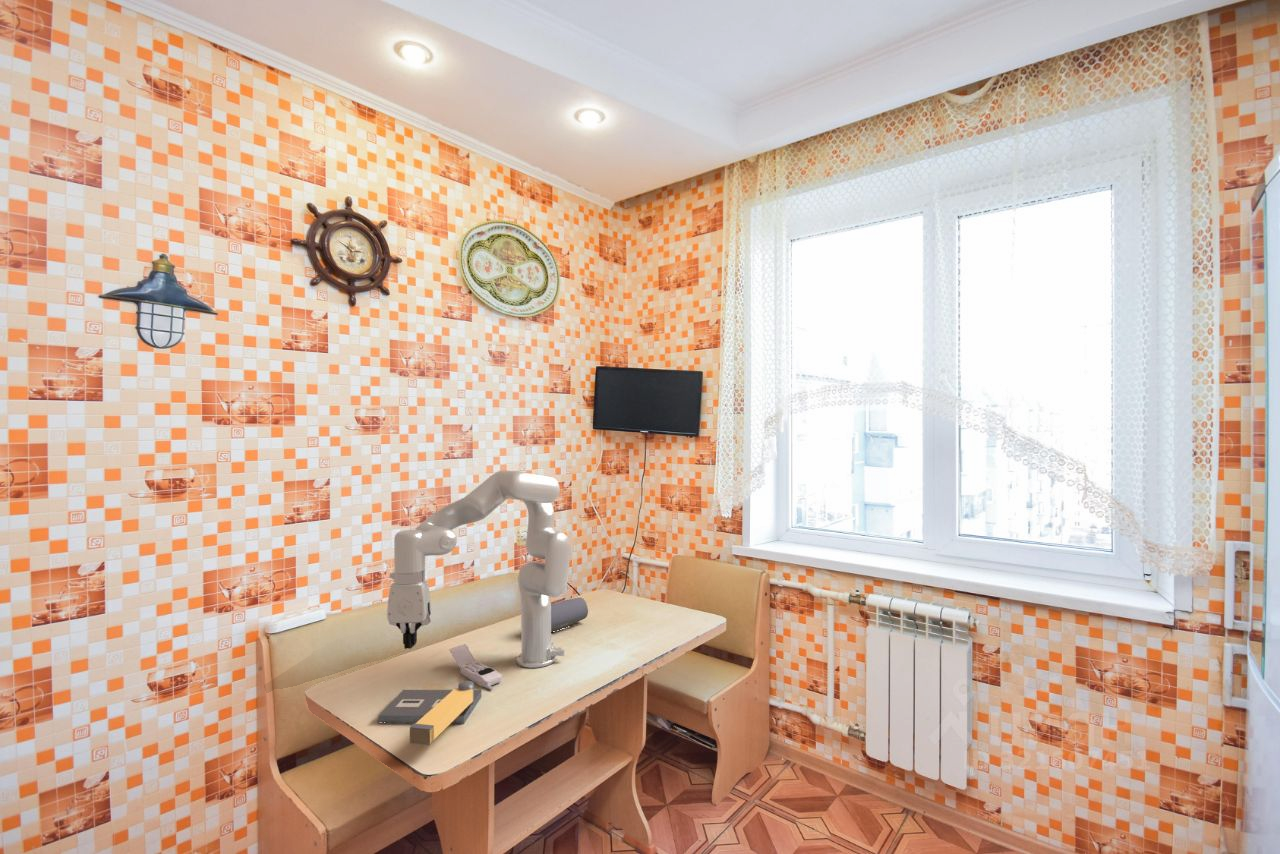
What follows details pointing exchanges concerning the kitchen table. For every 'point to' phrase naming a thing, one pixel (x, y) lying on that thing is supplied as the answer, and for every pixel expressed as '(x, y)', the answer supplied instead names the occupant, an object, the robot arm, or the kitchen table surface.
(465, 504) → the robot arm
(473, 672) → the mobile phone
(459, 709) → the bar
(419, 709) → the plate
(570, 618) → the bluetooth speaker
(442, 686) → the kitchen table surface
